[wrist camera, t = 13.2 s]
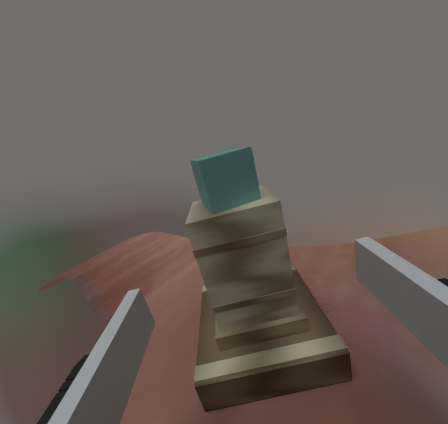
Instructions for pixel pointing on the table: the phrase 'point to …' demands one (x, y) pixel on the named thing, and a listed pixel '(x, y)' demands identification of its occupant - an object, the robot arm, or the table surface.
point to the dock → (269, 359)
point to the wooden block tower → (247, 271)
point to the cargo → (226, 179)
